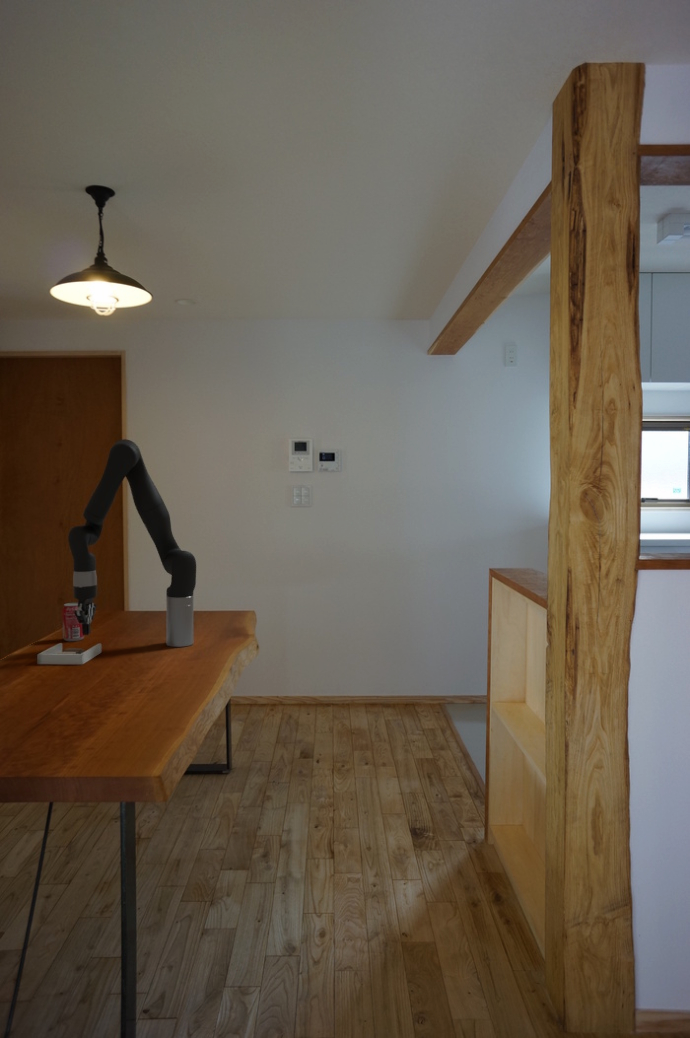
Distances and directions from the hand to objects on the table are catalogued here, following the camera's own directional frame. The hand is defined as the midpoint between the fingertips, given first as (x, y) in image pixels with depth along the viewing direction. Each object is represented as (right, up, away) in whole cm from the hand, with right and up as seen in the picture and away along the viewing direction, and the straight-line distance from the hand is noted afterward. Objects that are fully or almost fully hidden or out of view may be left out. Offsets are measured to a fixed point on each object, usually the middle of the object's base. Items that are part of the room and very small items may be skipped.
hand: (86, 634), depth 228 cm
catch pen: (0, -5, -13) cm, 14 cm away
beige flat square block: (0, -6, -11) cm, 13 cm away
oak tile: (-1, -6, -16) cm, 17 cm away
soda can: (-10, -5, +14) cm, 18 cm away
